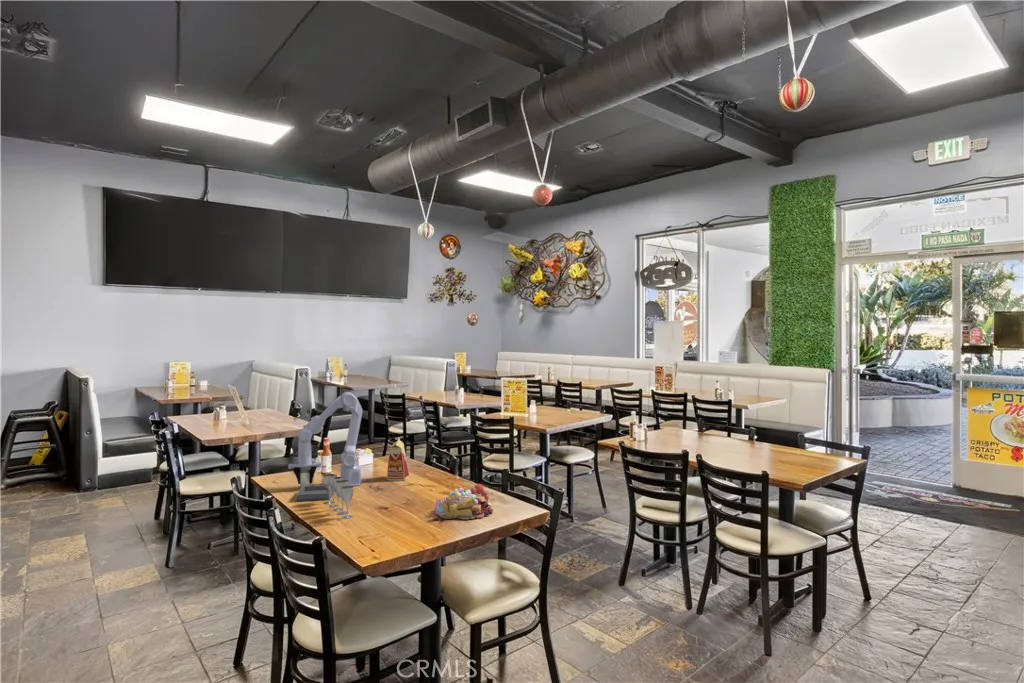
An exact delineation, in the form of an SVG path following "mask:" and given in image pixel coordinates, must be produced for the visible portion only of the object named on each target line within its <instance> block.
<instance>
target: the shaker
mask: <svg viewBox="0 0 1024 683" xmlns="http://www.w3.org/2000/svg"><path fill="white" fill-rule="evenodd" d="M311 484H312V483H311ZM311 484H310V468H301V470H300V484H299V485H300V486H299V490H300V489H301V488H302V486H312V485H311Z"/></svg>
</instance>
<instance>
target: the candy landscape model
mask: <svg viewBox="0 0 1024 683" xmlns="http://www.w3.org/2000/svg"><path fill="white" fill-rule="evenodd" d="M476 494H477V495H480V496H481V497H483V498H484V500H482V499H481V498H480V497H479V498H478V497H477V496H476ZM489 499H490V496H488V491H487V490H485V488H484V485H483V484H481V483H476V484H475V486H474V487H471V489H466V490H465V489H464V488H463V487H458V488H455V489H453V491H451V492H449V493H448V496H446V497H443V499H442V500H441V499H440V498H436V500H435V505H436V506H434V515H437V516H439V517H440V518H442V519H448V520H449V519H459V520H470V519H476V518H483V517H485V516H488V517H490V514H494V513H493V512H494V509H493V508H492V507H493V505H492V503H491V502H490V500H489Z"/></svg>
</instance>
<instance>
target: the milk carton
mask: <svg viewBox="0 0 1024 683" xmlns="http://www.w3.org/2000/svg"><path fill="white" fill-rule="evenodd" d="M386 470H387V471H386V472H387V473H386V480H387V481H393V482H394V481H395V482H398V481H406V480H407V479H408V478H410V472H409V468H408V462H407V454H406V450H405V444H404V442H403V441H402V440H401V439H400V437H398V438H397V441H395V442H393V443H392V445H391V447H390V448H389V456H388V462H387V469H386Z"/></svg>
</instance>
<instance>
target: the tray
mask: <svg viewBox="0 0 1024 683" xmlns="http://www.w3.org/2000/svg"><path fill="white" fill-rule="evenodd" d="M332 498H333V492H332V490H331V491H330V500H331V499H332ZM316 501H318V502H319V501H320V502H321V501H329V492H328V489H327V488H326V487H325V486H324V485H323V484H317V485H316V484H314V485H311V486H302V488H301V489H300V488H299V490H298V491H297V493H296V494H295V503H296V502H297V503H298V502H316Z"/></svg>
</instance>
